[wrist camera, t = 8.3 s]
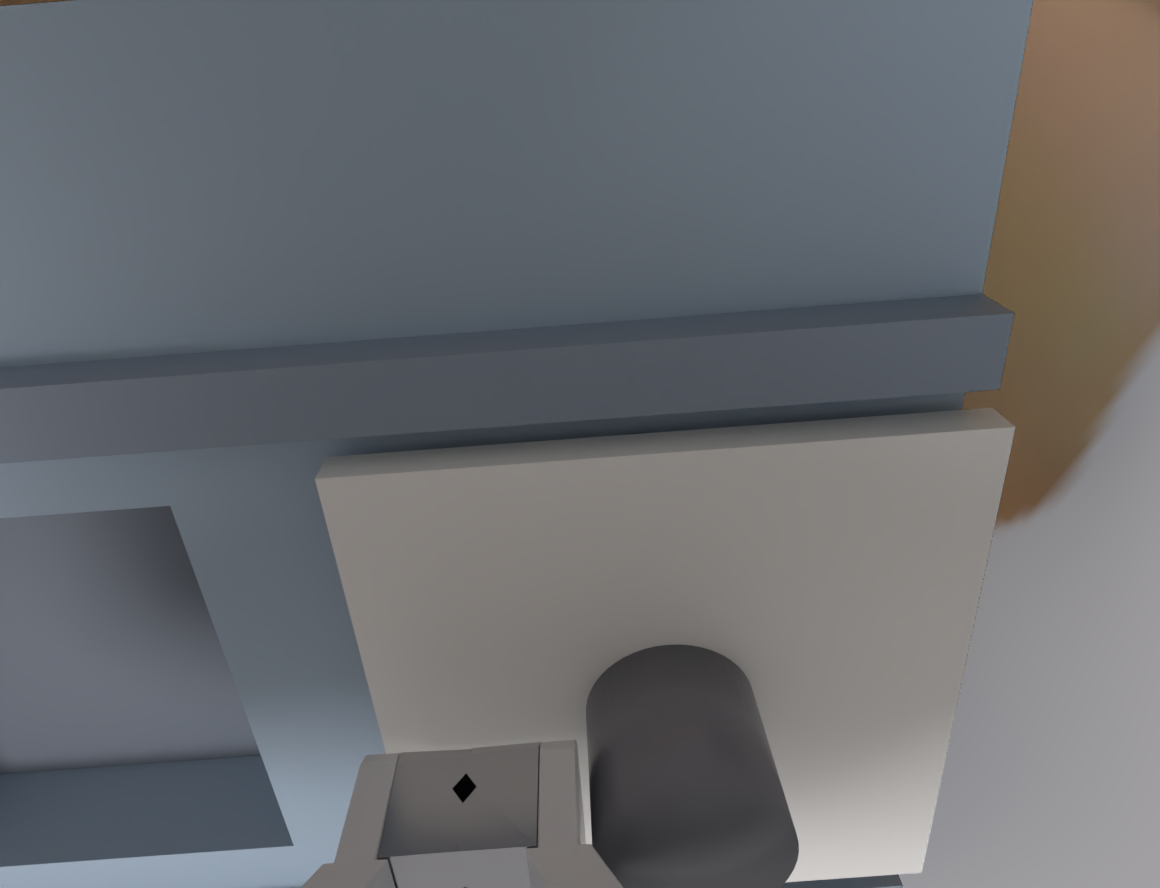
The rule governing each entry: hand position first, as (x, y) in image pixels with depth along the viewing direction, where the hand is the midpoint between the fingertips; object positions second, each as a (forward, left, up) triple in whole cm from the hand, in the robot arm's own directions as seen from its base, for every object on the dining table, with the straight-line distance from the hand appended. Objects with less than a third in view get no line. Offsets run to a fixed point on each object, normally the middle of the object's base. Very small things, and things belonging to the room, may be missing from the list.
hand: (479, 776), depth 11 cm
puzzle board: (0, -4, -4) cm, 6 cm away
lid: (0, +3, -2) cm, 3 cm away
